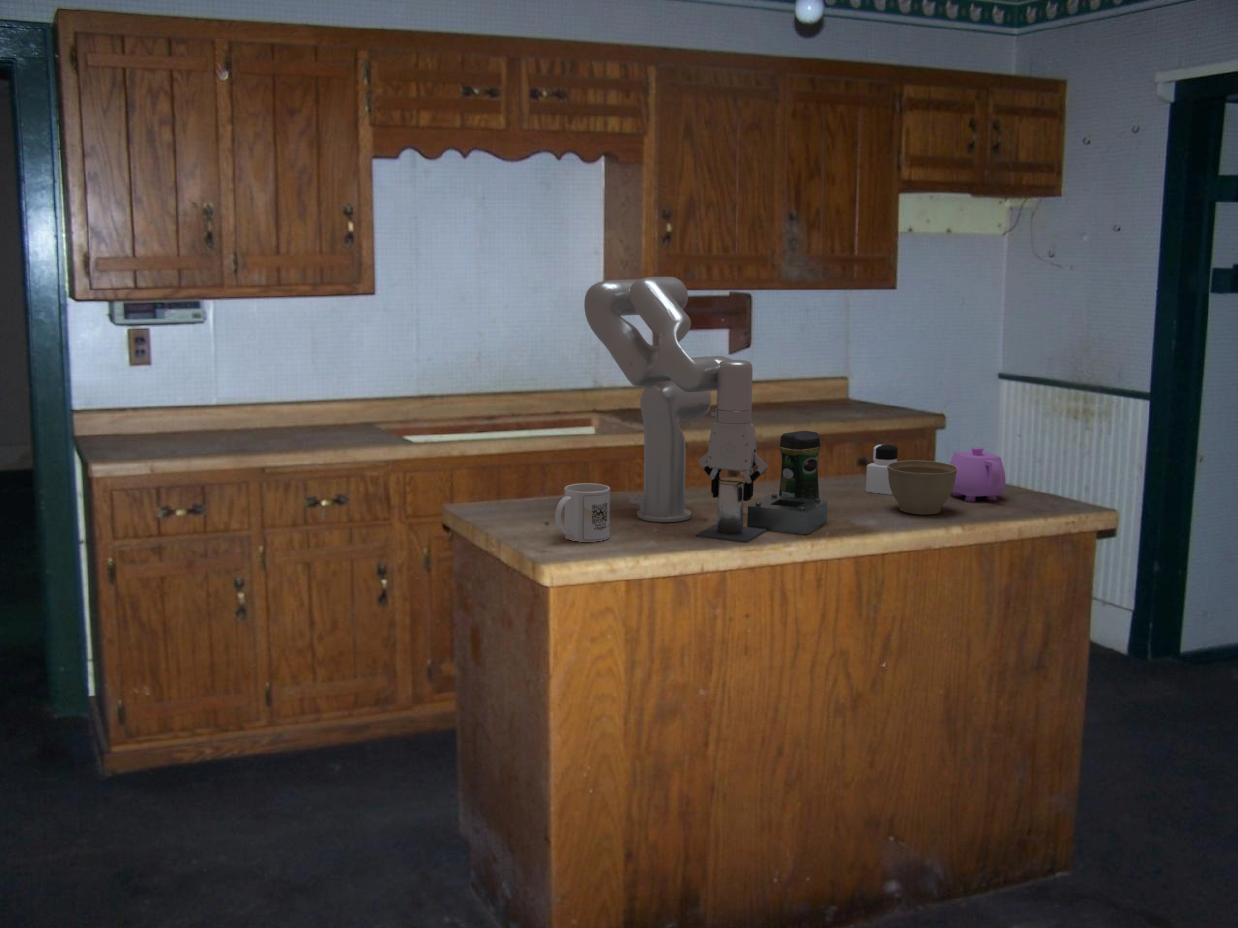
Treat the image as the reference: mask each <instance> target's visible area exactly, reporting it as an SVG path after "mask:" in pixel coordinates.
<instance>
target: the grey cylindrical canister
mask: <svg viewBox="0 0 1238 928" xmlns="http://www.w3.org/2000/svg"><path fill="white" fill-rule="evenodd" d="M719 478H720V479H718V497H717V511H716V512H717V516H716V517H717V518H716V519H717V521H716V524H717V532H718V533H720V534H727V535H735V534H741V533H742V532H743V527H744V500H743V487H744V483H745V479H744V478H740V477H719Z"/></svg>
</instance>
